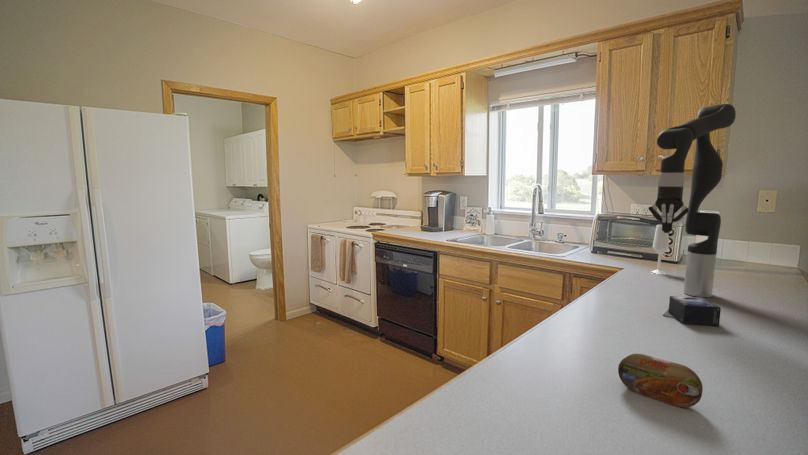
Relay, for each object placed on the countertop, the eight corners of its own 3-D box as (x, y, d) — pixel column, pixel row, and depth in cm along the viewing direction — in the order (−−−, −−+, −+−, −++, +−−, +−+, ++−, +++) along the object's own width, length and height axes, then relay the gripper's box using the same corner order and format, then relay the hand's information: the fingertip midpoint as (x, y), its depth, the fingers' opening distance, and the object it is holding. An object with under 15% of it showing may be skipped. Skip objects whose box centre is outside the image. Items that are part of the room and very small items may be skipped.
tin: (616, 386, 87) (619, 351, 86) (620, 381, 89) (623, 346, 88) (699, 415, 76) (703, 375, 75) (701, 408, 79) (706, 369, 78)
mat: (671, 306, 141) (672, 305, 141) (707, 313, 134) (707, 312, 134) (662, 315, 132) (662, 314, 132) (701, 323, 124) (701, 322, 124)
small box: (721, 306, 121) (684, 304, 123) (720, 326, 122) (682, 324, 124) (703, 296, 131) (668, 295, 133) (701, 314, 132) (667, 313, 134)
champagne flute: (647, 271, 194) (651, 224, 191) (659, 271, 195) (663, 224, 192) (657, 275, 187) (661, 226, 184) (669, 274, 188) (674, 226, 185)
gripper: (695, 185, 137) (690, 233, 139) (652, 185, 146) (648, 230, 149) (691, 185, 132) (686, 235, 134) (647, 185, 141) (643, 232, 143)
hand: (666, 232), depth 141 cm, fingers closed
